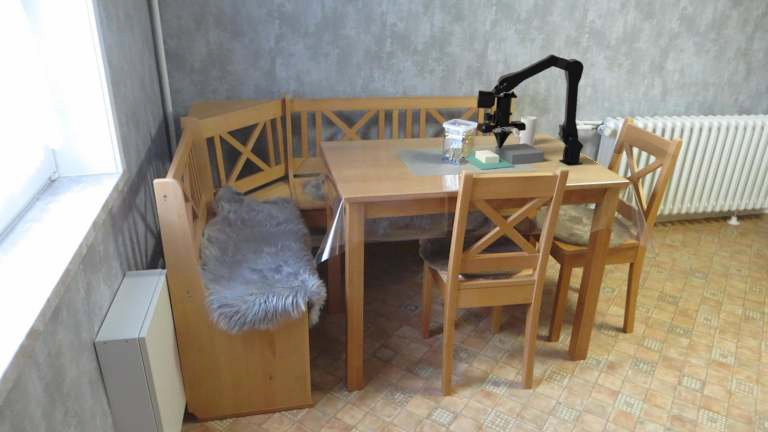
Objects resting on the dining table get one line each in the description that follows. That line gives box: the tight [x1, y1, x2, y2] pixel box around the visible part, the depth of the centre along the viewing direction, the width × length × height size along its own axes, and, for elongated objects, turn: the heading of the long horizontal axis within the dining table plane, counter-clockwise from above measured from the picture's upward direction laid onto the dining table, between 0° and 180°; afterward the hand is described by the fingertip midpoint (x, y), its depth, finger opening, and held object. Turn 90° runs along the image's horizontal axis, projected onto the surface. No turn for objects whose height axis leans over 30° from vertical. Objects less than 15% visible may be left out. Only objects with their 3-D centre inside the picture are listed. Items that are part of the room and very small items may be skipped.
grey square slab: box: [494, 143, 545, 166], centre depth 221 cm, size 14×14×4 cm
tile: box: [474, 149, 499, 164], centre depth 218 cm, size 9×6×3 cm, turn 16°
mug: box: [513, 115, 538, 147], centre depth 240 cm, size 10×7×12 cm, turn 102°
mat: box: [464, 152, 515, 171], centre depth 218 cm, size 20×14×1 cm
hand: (499, 148), depth 218 cm, fingers closed
